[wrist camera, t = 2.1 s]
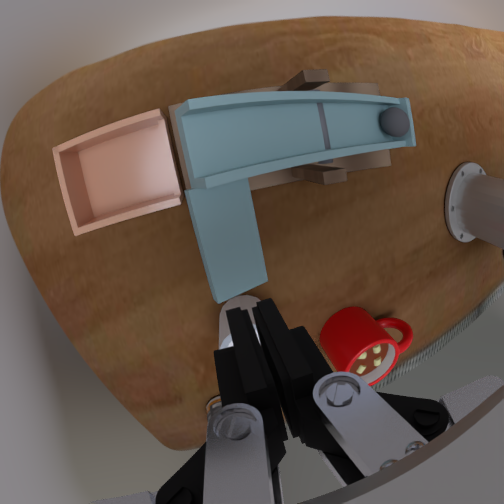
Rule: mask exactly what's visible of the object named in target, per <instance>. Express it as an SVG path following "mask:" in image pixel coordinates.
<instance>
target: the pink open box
mask: <svg viewBox="0 0 504 504" xmlns="http://www.w3.org/2000/svg"><path fill="white" fill-rule="evenodd" d="M52 150H53V155H54V160H55V165H56V169H57V174H58V178H59V183H60V187H61V191H62V195H63V198H64V202H65V206H66V209H67V213H68V216H69V219H70V223H71V226H72V229H73V232H74V235H75V236H76V235H79V234H82V233H85V232H89V231H92V230H95V229H98V228H101V227H104V226H107V225H110V224H114V223H117V222H120V221H124V220H127V219H130V218H134V217H137V216H141V215H144V214H148V213H151V212H155V211H158V210H162V209H166V208H169V207H173V206H177V205H181V203H182V200H183V198H184V193H183V189H182V185H181V181H180V176H179V172H178V168H177V163H176V159H175V154H174V150H173V145H172V141H171V136H170V131H169V127H168V122H167V117H166V116H165V115H164V113H163V112H162V111H161V110H160V109H156V110H152V111H149V112H145V113H142V114H139V115H136V116H133V117H129V118H126V119H123V120H121V121H118V122H115V123H112V124H109V125H107V126H104V127H101V128H99V129H96V130H93V131H91V132H88V133H86V134H84V135H81V136H79V137H76V138H74V139H72V140H70V141H67V142H65V143H63V144H61V145H58V146H56V147H54V148H52Z"/></svg>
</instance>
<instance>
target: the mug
mask: <svg viewBox="0 0 504 504" xmlns="http://www.w3.org/2000/svg"><path fill="white" fill-rule="evenodd" d="M383 328H395V329H398V330H399V331H401V332H402V334H403V338H402V340H401V341H400V342H399V343H397V342H396V341H395V340H394V339H393V338H392V337H391V336H390V335H389V334H388V333H387V332H386V331H385V330H384V329H383ZM412 340H413V332H412V329H411V327H410V326H409V325H408V324H407V323H406V322H404V321H403V320H400V319H397V318H382V319H378V320H376V321H375V319H374V318H373V317H372V316H371V315H370V314H369V313H368V312H367V311H366V310H364V309H363V308H360V307H348V308H344V309H342V310H340V311H338V312H337V313H335V314H334V315H333V316H332V317H330V318H329V319H328V321H327V322H326V323H325V325H324V326H323V328H322V331H321V334H320V344H321V346H322V348H323V349H324V351H325V353H326V354H327V356H328V357H329V359H330V361H331V362H332V364H333V365H334V367H335V369H336V370H337V372H350V373H353V374H356V375H357V376H359V377H360V378H362V379H363V380H364V381H365V382H366V383H367V384H368V385H369V386H372V385H374V384H376V383H378V382H379V381H380V380H382V379H383V378H384V377H385V376H386V375H387V374H388V373H389V372H390V371H391V370H392V368H393V367H394V365H395V364H396V362H397V359H398V357H399V354H400V353H402V352H404V351H405V350H406V349H407V348H408V347H409V346H410V344H411V342H412Z"/></svg>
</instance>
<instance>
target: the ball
mask: <svg viewBox="0 0 504 504" xmlns="http://www.w3.org/2000/svg"><path fill="white" fill-rule="evenodd" d="M380 122H381V126H382V128H383V130H384V131H385V132H386V133H387V134H388V135H390V136H393V137H401V136H403V135H405V134H406V133H407V132H408V130H409V128H410V120H409V117H408V116H407V114H406V113H405V112H404V111H403V110H401V109H399V108H396V107H391V108H388V109H386V110H385V111H384V112H383V113H382V115H381V118H380Z"/></svg>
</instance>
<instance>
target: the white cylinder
mask: <svg viewBox="0 0 504 504" xmlns="http://www.w3.org/2000/svg"><path fill="white" fill-rule="evenodd" d="M259 301H261V300H259V299H258V298H257V297H253V296H250V295H242V296H237V297H234V298H232V299H230V300H229V301H228V302H227V303H226V304H225V305H224V306H223V307H222V309H221V312H220V317H219V349H223V348H227V347H231V346H233V342H232V337H231V333H230V329H229V325H228V320H227V316H226V311H225V310H229V309H233V308H237V307H240V308H241V310H245V309H247V310H248V313H249V315H250V318H251V321H252V324H253V326H254V329H255V332H256V334H257V337H258V340H259V336H258V332H257V328H256V324H255V320H254V316H253V312H252V307H256V306H257V304H256V302H259ZM259 343H260V341H259Z"/></svg>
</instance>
